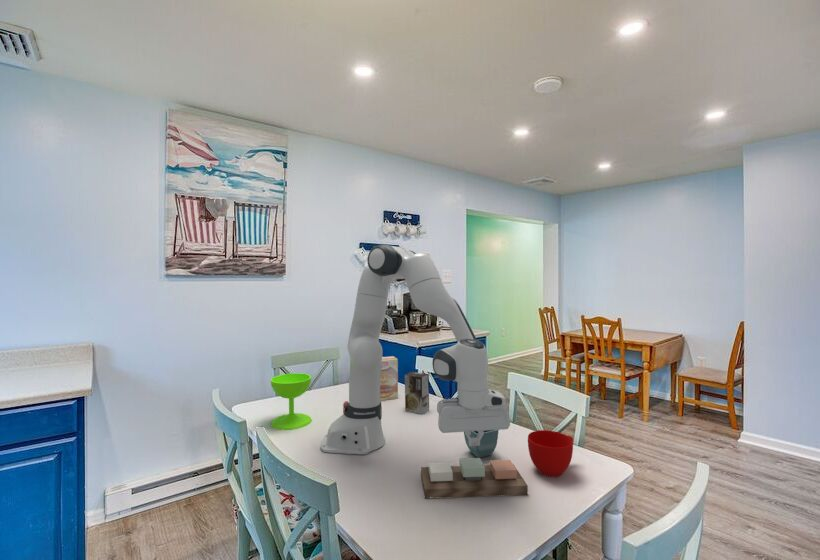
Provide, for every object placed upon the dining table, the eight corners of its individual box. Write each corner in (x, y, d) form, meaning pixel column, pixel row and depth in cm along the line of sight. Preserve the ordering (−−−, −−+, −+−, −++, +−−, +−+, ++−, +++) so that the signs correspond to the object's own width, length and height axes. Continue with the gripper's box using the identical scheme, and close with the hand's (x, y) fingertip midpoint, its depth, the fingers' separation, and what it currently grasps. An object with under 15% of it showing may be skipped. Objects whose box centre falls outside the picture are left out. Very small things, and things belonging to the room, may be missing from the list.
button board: (424, 498, 106) (424, 489, 106) (421, 475, 118) (421, 467, 117) (527, 494, 107) (527, 485, 107) (513, 472, 119) (513, 464, 119)
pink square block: (495, 488, 110) (495, 470, 110) (489, 477, 116) (489, 460, 116) (516, 487, 110) (516, 469, 110) (510, 476, 116) (510, 459, 116)
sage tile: (463, 486, 109) (463, 468, 109) (459, 475, 115) (459, 458, 115) (484, 485, 109) (484, 467, 109) (479, 474, 115) (479, 457, 115)
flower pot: (462, 450, 134) (462, 424, 134) (484, 446, 137) (484, 420, 137) (476, 462, 126) (476, 434, 126) (499, 456, 129) (499, 429, 129)
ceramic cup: (590, 471, 120) (590, 438, 120) (554, 487, 111) (554, 451, 111) (554, 454, 131) (554, 424, 131) (518, 468, 122) (518, 436, 122)
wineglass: (291, 432, 150) (291, 385, 150) (262, 425, 157) (261, 380, 157) (320, 419, 164) (319, 375, 164) (291, 412, 172) (291, 371, 171)
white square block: (431, 490, 109) (430, 472, 109) (428, 479, 115) (428, 462, 115) (452, 489, 109) (452, 472, 109) (449, 478, 115) (449, 461, 115)
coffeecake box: (368, 402, 185) (367, 361, 184) (364, 398, 191) (364, 358, 191) (398, 398, 190) (398, 358, 190) (393, 394, 197) (393, 355, 196)
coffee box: (429, 410, 174) (429, 373, 174) (422, 414, 168) (422, 377, 168) (412, 406, 179) (412, 371, 179) (404, 410, 173) (404, 374, 173)
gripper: (438, 402, 108) (439, 452, 109) (511, 398, 110) (512, 448, 110) (435, 395, 115) (436, 442, 115) (504, 391, 116) (505, 438, 116)
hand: (474, 445), depth 113 cm, fingers closed
